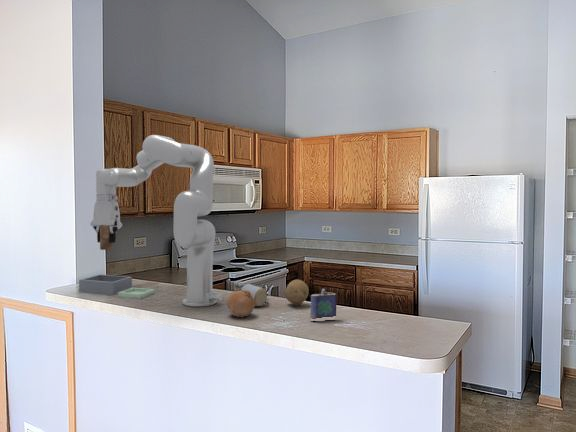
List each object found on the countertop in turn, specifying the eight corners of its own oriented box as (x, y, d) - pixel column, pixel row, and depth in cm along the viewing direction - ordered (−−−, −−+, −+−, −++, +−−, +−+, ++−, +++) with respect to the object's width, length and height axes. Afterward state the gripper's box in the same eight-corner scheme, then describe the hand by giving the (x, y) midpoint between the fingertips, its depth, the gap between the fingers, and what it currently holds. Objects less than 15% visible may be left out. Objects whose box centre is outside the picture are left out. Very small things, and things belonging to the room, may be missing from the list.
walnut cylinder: (115, 248, 192) (115, 224, 192) (107, 249, 187) (107, 225, 187) (105, 248, 193) (104, 224, 193) (97, 249, 189) (97, 225, 188)
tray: (154, 293, 187) (154, 289, 187) (140, 299, 177) (140, 294, 177) (132, 291, 189) (132, 287, 189) (117, 297, 180) (118, 292, 180)
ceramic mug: (255, 309, 166) (255, 288, 165) (238, 305, 171) (239, 285, 170) (273, 304, 174) (274, 284, 174) (257, 300, 179) (258, 281, 179)
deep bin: (131, 288, 196) (131, 276, 195) (113, 294, 183) (113, 282, 183) (99, 285, 200) (99, 274, 199) (79, 291, 187) (79, 279, 187)
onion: (251, 324, 157) (264, 299, 157) (234, 322, 150) (248, 296, 149) (233, 309, 163) (247, 285, 162) (216, 307, 155) (230, 282, 155)
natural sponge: (309, 309, 167) (309, 282, 167) (284, 308, 167) (285, 281, 167) (307, 303, 176) (308, 277, 176) (284, 302, 176) (285, 277, 176)
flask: (311, 322, 150) (312, 290, 150) (308, 320, 153) (309, 288, 153) (337, 320, 153) (338, 289, 153) (333, 318, 156) (334, 287, 156)
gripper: (129, 198, 191) (129, 242, 192) (94, 198, 195) (94, 240, 196) (118, 199, 183) (118, 244, 184) (82, 198, 188) (82, 242, 189)
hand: (106, 241), depth 190 cm, fingers closed on walnut cylinder, 5 cm apart
